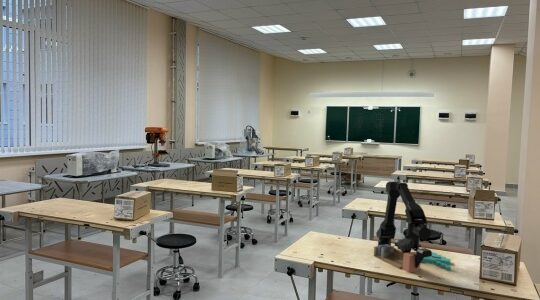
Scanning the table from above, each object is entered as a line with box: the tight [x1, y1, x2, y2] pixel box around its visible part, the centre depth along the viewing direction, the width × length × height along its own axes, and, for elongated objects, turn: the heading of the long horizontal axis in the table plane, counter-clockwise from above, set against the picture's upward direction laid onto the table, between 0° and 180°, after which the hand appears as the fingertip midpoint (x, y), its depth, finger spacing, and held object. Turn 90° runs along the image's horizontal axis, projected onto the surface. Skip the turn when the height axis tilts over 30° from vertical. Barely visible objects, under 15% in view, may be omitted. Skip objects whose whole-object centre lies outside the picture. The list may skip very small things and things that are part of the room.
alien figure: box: [421, 251, 452, 272], centre depth 201 cm, size 20×2×20 cm
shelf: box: [373, 244, 403, 270], centre depth 198 cm, size 9×19×6 cm, turn 24°
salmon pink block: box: [402, 251, 421, 273], centre depth 187 cm, size 7×4×8 cm, turn 114°
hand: (411, 265), depth 187 cm, fingers open, 6 cm apart
